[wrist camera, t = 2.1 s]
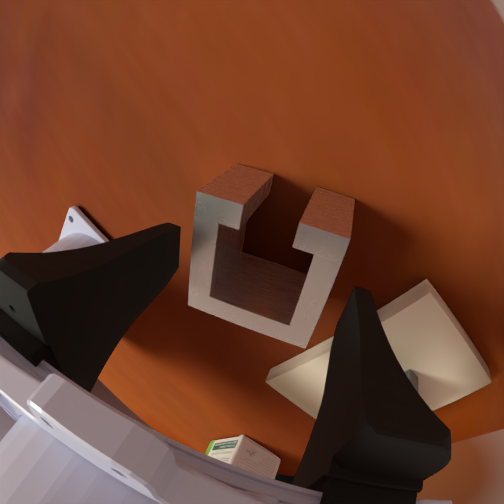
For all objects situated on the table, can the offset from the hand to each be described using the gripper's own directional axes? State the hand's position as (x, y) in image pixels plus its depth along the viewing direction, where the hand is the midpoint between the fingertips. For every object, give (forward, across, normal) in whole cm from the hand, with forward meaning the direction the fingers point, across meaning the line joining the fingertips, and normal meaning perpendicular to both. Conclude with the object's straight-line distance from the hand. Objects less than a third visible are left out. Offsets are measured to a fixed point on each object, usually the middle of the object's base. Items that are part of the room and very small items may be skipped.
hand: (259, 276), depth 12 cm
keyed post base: (+4, -8, +7) cm, 12 cm away
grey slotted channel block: (+4, 0, 0) cm, 4 cm away
